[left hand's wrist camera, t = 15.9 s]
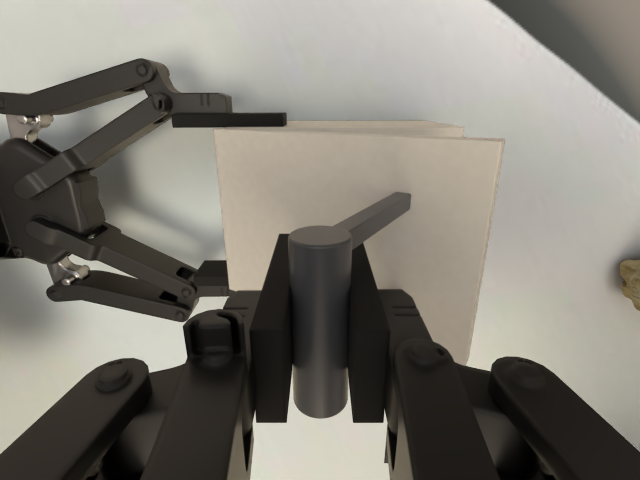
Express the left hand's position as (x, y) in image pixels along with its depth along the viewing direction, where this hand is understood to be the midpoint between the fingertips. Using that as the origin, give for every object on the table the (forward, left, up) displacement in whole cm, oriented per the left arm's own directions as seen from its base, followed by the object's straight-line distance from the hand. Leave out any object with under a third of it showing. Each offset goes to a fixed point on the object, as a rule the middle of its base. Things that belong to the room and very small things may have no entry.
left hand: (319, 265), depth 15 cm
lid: (-1, 0, -4) cm, 4 cm away
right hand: (+2, +1, -10) cm, 11 cm away
